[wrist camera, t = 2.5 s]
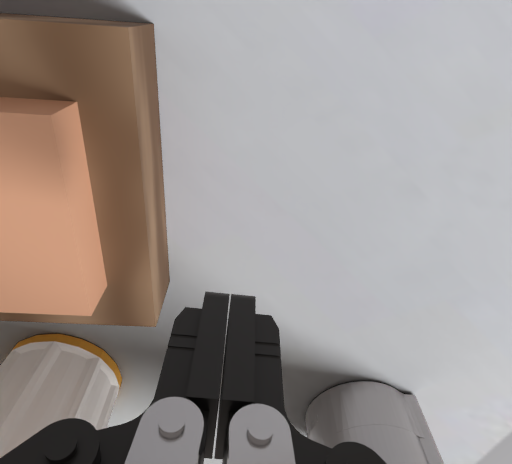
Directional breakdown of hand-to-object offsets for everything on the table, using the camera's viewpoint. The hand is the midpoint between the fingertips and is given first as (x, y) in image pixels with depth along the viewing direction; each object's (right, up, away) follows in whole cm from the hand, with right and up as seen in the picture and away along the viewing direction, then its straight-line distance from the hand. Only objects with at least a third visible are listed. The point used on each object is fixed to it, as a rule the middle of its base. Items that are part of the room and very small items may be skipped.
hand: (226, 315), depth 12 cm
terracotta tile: (-11, +4, +7) cm, 14 cm away
